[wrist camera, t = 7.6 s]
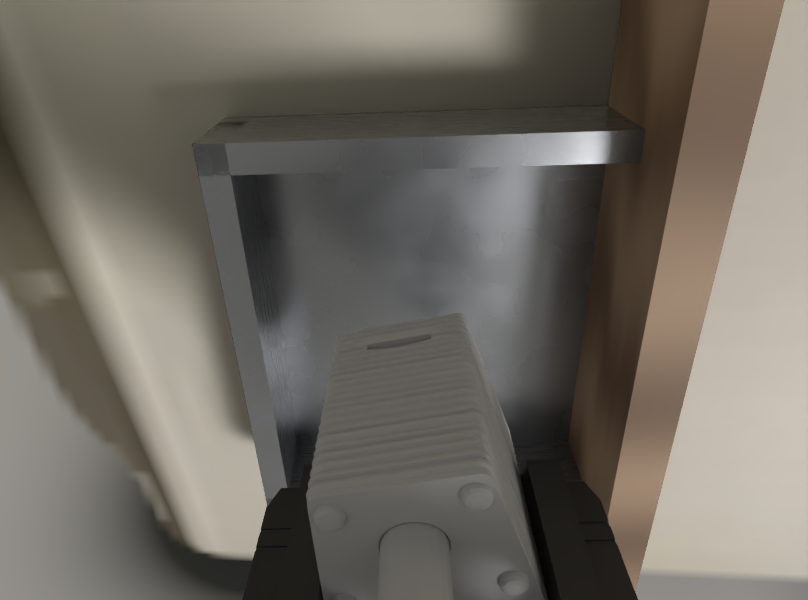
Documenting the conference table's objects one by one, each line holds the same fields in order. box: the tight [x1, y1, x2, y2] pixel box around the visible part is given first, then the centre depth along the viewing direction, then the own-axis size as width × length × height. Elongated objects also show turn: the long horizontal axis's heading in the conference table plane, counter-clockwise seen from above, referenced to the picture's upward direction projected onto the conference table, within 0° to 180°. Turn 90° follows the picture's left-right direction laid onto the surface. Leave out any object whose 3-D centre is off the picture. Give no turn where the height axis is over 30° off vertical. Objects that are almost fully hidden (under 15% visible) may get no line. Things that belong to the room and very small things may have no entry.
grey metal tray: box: [192, 105, 646, 506], centre depth 19 cm, size 13×11×3 cm
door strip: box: [568, 0, 784, 590], centre depth 18 cm, size 20×1×5 cm, turn 2°
